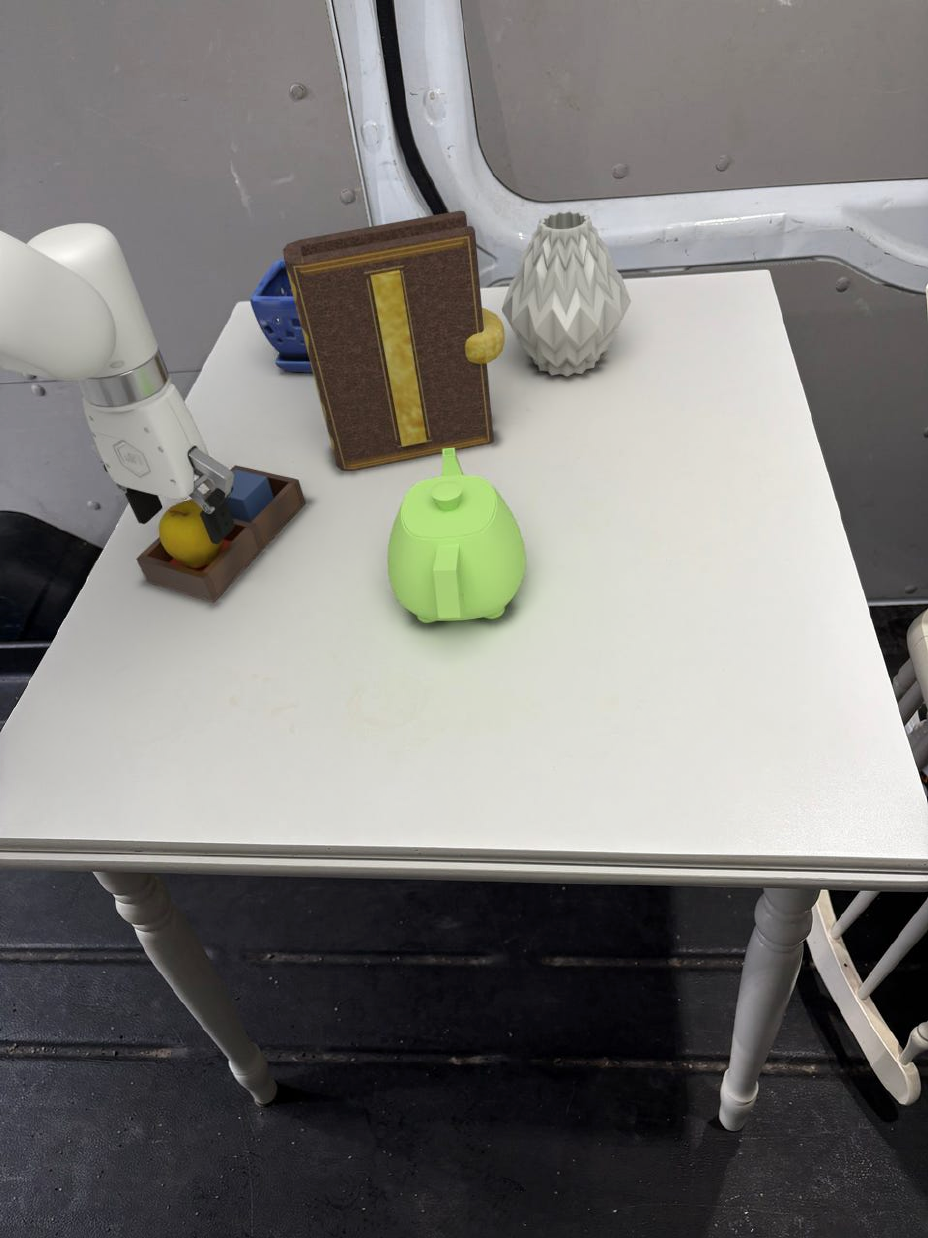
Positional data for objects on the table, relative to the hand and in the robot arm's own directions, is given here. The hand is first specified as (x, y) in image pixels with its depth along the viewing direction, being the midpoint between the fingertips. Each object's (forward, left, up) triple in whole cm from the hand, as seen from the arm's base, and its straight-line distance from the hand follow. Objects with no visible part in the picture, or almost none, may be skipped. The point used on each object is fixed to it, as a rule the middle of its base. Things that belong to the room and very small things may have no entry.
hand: (187, 525), depth 87 cm
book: (+12, +28, -6) cm, 31 cm away
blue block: (0, +9, -5) cm, 10 cm away
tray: (0, +5, -6) cm, 7 cm away
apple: (0, 0, -5) cm, 5 cm away
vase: (+22, +52, -6) cm, 56 cm away
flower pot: (-12, +43, -6) cm, 45 cm away
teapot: (+28, +6, -6) cm, 29 cm away
